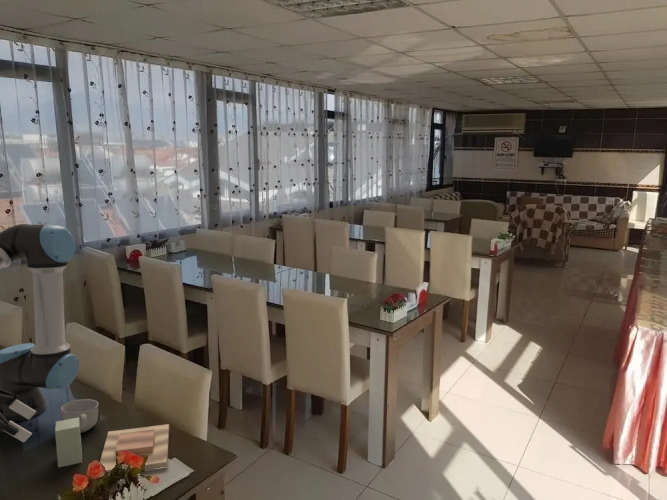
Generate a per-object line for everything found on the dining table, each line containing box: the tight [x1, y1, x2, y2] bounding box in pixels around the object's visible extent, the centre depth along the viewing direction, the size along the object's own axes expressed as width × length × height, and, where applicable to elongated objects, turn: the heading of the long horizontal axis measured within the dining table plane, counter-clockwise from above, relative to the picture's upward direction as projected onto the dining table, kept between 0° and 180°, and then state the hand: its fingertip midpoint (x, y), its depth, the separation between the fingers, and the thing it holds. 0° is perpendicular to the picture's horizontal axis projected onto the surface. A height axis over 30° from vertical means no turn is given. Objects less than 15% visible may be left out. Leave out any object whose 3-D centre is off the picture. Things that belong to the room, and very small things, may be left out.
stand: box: [99, 423, 170, 472], centre depth 152 cm, size 22×18×4 cm
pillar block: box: [54, 417, 83, 468], centre depth 148 cm, size 6×6×11 cm
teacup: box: [60, 398, 99, 434], centre depth 164 cm, size 14×11×8 cm
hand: (30, 426), depth 142 cm, fingers open, 13 cm apart
